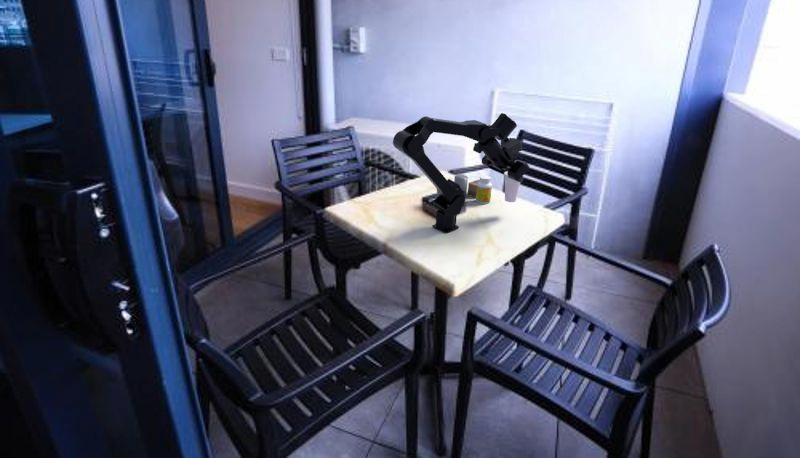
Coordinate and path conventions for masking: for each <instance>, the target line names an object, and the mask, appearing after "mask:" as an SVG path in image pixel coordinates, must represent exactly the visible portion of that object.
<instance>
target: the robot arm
mask: <svg viewBox="0 0 800 458" xmlns="http://www.w3.org/2000/svg"><path fill="white" fill-rule="evenodd" d="M517 127H518V125H517V123H516V122H515V120H513V119H512V118H510V117H509V116H507V114H506V113H503V112H501V113H500V114H499V116H498V117H497V119H495V120H494V121H493V123H492V124H488V123H484V122H481V121H479V120H476V119H471V120H469V119H468V120H464V121H456V120H447V119H442V118H433V117H429V116H422V117H421V118H420V119H418V120H417V121H415V122H413V123H412V124H410V125H407V126H406V127H405V128H403V129H402V130H399V131H398V132H396V133H395V135H393V136H394V137H393V139H392V145H393V147H394V148H395V149H397V150H398V151H399V152H400V153H402V154H403V155H405V156H406V157H407V158H409V159H410V160H411V161H412V162H413V163H414V164H415V165H416V166H417V168H418V169H419V170H420V171H421V173H423V174H424V175H425V176H426V178H427V179H428V180H429V181H430V183H431V184H432V185H433V186H434V187H435V188H436V192H437V195H436V197H435V199H434V200H433V201H432V204H433V207H434V208H436V209H437V210H436V215H435V216H436V218H435V224H433V225H431V226H432V227H431V228H434V229H436V230H438V231H440V232H443V233H445V234H448V233H451V232H453V231H455V230H458V229H459V227H460V226H458V225H457V215H460V214H461V211H462V209H463V206H464V204H465V202H466V198H467V195H466V196H465V194H464V193H465V191H463V190H462V189H461V187H460V186H459V184H457V183H455V182H454V180H452V179H450V178H446V177H445V176H444V175H443V174H442V173H441V171H440V170H439V169H438V167H437V166H436V165H435V164H434V163H433V162H432V160H431V159H430V158H429V157H428V155H427V154H426V152H425V149H424V145H425V144H427V141H428V140H429V138H430V136H431V135H432V134H434V133H438V134H444V135H453V136H461V137H465V138H468V139H471V140H473V141H476V143H474V145H473V149H472V150H473V152H475V153H478V154H482V153H483V154H484V155H483V156H482V158H481V164H483V167H486V168H489V169H491V170H492V171H494V172H496V173H499V174H501V175H503V176H504V172H507V171H508V174H507V175H508V177H509V178H511V179H513V180H515V181H518V182H520V184H522V183H523V182H524V175H525V174H526V173H527V172H528V170H529V169H530V165H529V164H528V162H525V161H523V160H519V159H518V160H515V162H514V161H512V160H513V159H515V155H516V154H517V153H519V152H522V150H523V146H522V141H521V139H518V138H516V137H515V138H514V137H509V136H510V135H511V134H512V133H513V132H514V130H515V129H516V128H517ZM499 141H500V142H499Z"/></svg>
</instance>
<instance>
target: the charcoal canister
mask: <svg viewBox="0 0 800 458" xmlns="http://www.w3.org/2000/svg"><path fill="white" fill-rule="evenodd" d="M453 179H454V180H453V181H454V182H455V183H457V184H459V186H460V187H461V189H462V190H463V191H465V193H464V194H465V196H466V197H467V194H468V183H469V177H468V176H467V175H464V174H456V175H454V178H453Z"/></svg>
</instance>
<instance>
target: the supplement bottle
mask: <svg viewBox="0 0 800 458" xmlns="http://www.w3.org/2000/svg"><path fill="white" fill-rule="evenodd" d="M479 180H480V182H478V184H477V193H476V198H475V202H476V203H477V204H481V205H487V204H488V205H489V204H490V202H491V198H492V189H493V184H492V183H491V181H492V177H491V176H490V175H480V176H479Z"/></svg>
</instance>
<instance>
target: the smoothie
mask: <svg viewBox="0 0 800 458" xmlns="http://www.w3.org/2000/svg"><path fill="white" fill-rule="evenodd" d="M507 174H508V171H507V172H504V175H503V177H504V201H505V202H507V203H515V202H516V201H517V197H518V195H519V189H520V186H521V183H520V182H518V181H515V180H513V179H511V178H509V177H508V175H507Z"/></svg>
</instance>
